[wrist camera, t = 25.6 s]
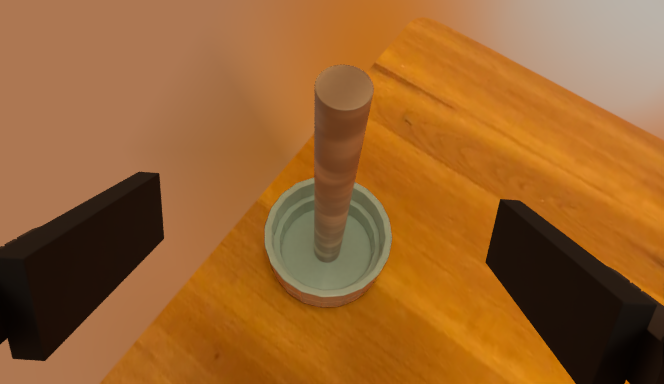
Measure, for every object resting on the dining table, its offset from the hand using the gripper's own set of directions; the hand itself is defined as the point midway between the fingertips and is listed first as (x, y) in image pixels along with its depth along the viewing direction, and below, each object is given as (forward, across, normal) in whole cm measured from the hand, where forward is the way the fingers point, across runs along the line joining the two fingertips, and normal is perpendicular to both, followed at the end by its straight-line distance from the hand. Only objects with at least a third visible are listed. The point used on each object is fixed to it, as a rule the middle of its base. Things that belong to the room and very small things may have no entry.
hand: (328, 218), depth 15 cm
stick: (+21, 0, -12) cm, 24 cm away
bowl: (+21, 0, -13) cm, 25 cm away
